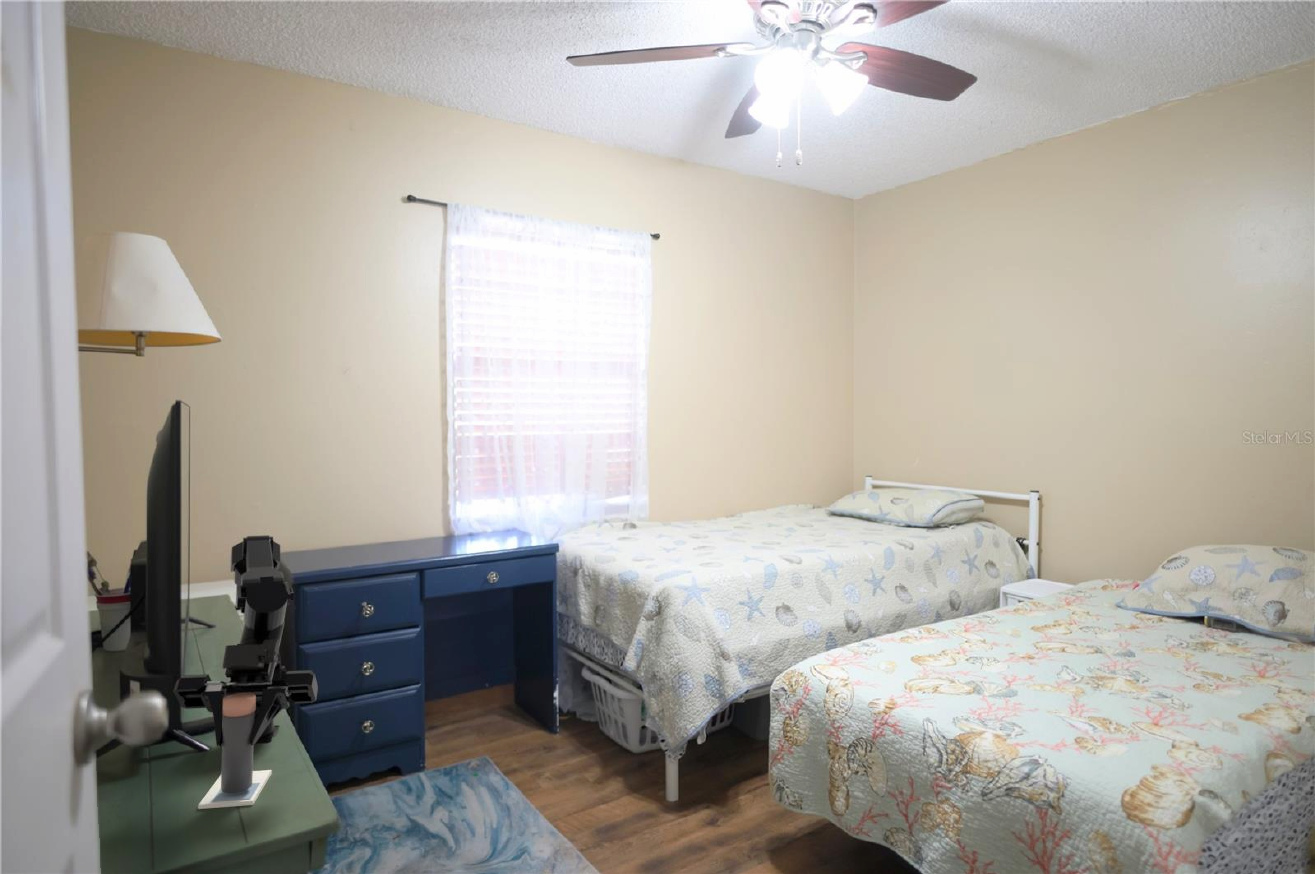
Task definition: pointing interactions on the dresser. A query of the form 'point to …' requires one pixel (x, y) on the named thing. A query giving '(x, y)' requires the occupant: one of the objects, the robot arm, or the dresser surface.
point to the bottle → (237, 742)
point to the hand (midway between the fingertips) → (235, 745)
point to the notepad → (246, 797)
